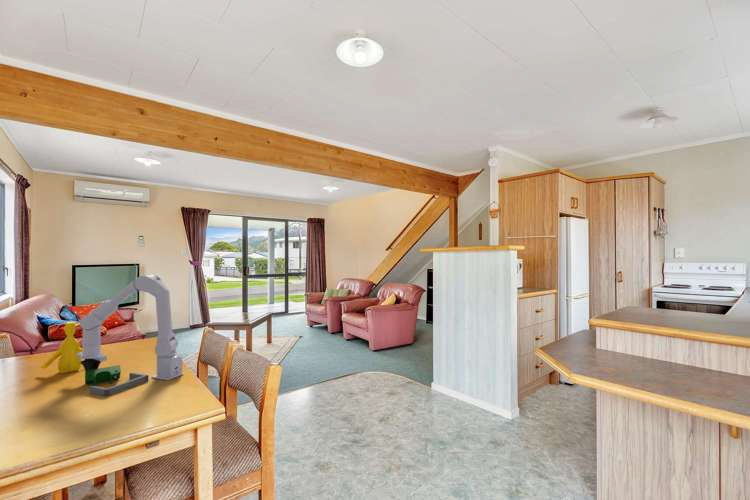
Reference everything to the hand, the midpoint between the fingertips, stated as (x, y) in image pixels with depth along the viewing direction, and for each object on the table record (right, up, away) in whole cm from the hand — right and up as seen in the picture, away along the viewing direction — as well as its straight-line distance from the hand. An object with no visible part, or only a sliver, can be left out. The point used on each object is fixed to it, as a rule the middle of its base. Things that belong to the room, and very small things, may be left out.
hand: (91, 377), depth 142 cm
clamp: (+6, -2, -2) cm, 7 cm away
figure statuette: (-19, -2, +12) cm, 23 cm away
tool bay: (+16, -2, -5) cm, 17 cm away
